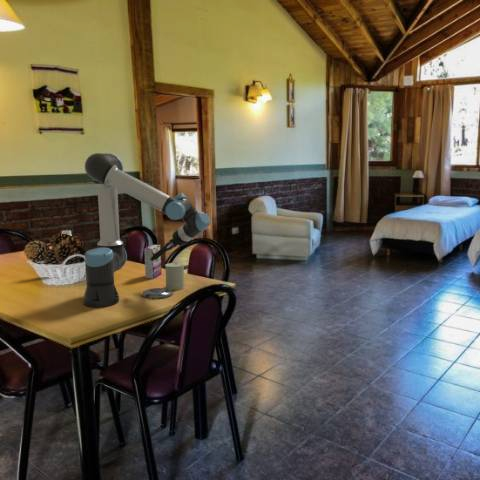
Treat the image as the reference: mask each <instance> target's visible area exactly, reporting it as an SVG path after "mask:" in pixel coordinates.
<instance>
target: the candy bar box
mask: <svg viewBox="0 0 480 480" xmlns="http://www.w3.org/2000/svg"><path fill="white" fill-rule="evenodd" d="M143 249H144V250H143V251H144V252H143V253H144V267H145V268H144V269H145V270H144V272H145V279H149V280H151V279H152V280H153V279H156V278H158V277H160V275H162V255H161V256H160V257H159V258H158V259H156V260H155V261H154V262H152V263H151V264H149V263H148V262H147V259H148V258H149V257H151V256H152V255H153V253H154V254H155V253H156V252H158V251H159V250H160V249H161V244H152V245H149V246H147V247H145V248H143Z"/></svg>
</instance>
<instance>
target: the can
mask: <svg viewBox="0 0 480 480" xmlns="http://www.w3.org/2000/svg"><path fill="white" fill-rule="evenodd" d="M164 267H165V268H164V269H165V288H167V289H171V290H172V291H178V289H180V290H183V289H185V264H184V263H182V262H168V263H166V264H164ZM182 288H183V289H182Z"/></svg>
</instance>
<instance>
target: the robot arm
mask: <svg viewBox="0 0 480 480" xmlns="http://www.w3.org/2000/svg"><path fill="white" fill-rule="evenodd" d="M84 170H85V173H86V175H87V176H88V177H89V178H91V179H92V180H93V185H94V186H95V187H97V204H98V218H99V219H98V221H99V237H100V240H99V241H98V242H97V245H96V247H94V248H92V249H89V250H87V251H86V252H85V255H84V265H85V278H86V279H85V280H86V286H85V287H86V288H85V290H84V291H85V292H84V295H83V298H82V301H83V305H84V306H86V307H89V308H104V307H109V306H114V305H116V304H118V303H119V302H120V295H119V293H118V290H117V288H116V285H115V273H116V272H117V271H119V270H121V269H122V268H123V267H124V266H125V264H126V263H127V259H128V255H127V251H126V248H124V241H122V239H120V219H119V199H118V198H119V196H118V194H119V193H118V190H119V191H121V192H122V193H124V194H127V195H128V196H130V197H133V198H134V199H136V200H138V201H140V202H142V203H144V204H146V205H148V206H150V207H152V208H153V209H155V210H158V211H160V212H162V213H163V214H165V215H166V216H167V218H168V219H170V220H173V221H177V220H182V221H183V222H184V224H183V225H181V226H179V227H178V229H177V230H175V231H174V232H173V233H172V238H171V239H170V240H169V241H167V242H166V243H165V246H162V248H160V250H159V251H158V252H156V253H155V254H154V253H153V255H152V256H151V257H149V258H148V259H147V262H148V263H149V264H151V263H152V262H154V261H155V260H156V259H158V258H159V257H160V256H161V257H162V256H163V255H164V254H165V253H167V252H168V251H171V250H173V248H175V247H177V246H181V247H182V246H185V245H186V244H188V242H190V241H194V238H196V237H197V236H198V235H199V234H201V233H203V232H204V231H205V230H206V229H207V228H209V227H210V225H211V219H210V217H209V215H208V214H207V213H205V212H203V211H200V212H199V211H198V210H197V209H196V207H194V205H193V204H192V203H191V201H190V199H189V198H188V197H187V196H186V195H185V194H184V193H183V192H181V193H178V194H177V195H176V196H174V197H172V196H171V195H168V194H166V193H165V192H163V191H161V190H159V189H157V188H155V187H153V186H152V185H149V184H148V183H145V182H143V181H141V180H140V179H138V178H136V177H134V176H132V175H130V174H129V173H127V172H125V171H124V165H123V162H122V161H121V159H120V158H119V157H118V156H117V155H115V154H113V153H107V152H106V153H100V152H98V153H97V152H96V153H93V154H91V155H89V156H88V157H87V158H86V160H85V163H84Z"/></svg>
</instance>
